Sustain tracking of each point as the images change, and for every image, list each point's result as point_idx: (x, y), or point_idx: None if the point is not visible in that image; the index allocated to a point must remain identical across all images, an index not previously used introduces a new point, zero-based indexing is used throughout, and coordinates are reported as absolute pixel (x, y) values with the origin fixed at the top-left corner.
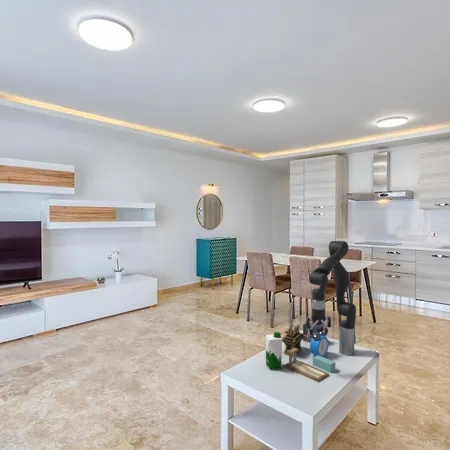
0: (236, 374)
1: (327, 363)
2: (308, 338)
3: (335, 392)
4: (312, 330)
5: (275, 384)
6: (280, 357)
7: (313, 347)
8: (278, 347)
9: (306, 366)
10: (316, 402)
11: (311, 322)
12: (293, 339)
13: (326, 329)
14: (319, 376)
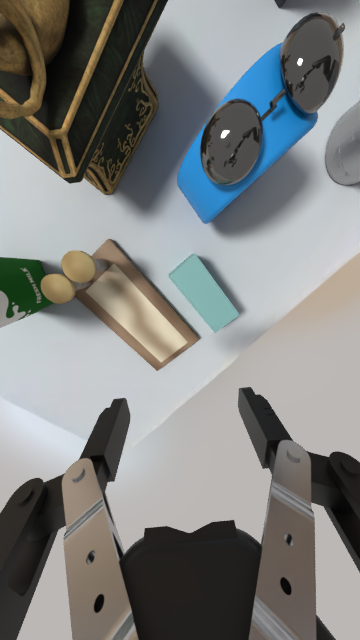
0: None
1: (207, 323)
2: None
3: (184, 402)
4: (115, 468)
5: (47, 380)
6: (22, 315)
7: (191, 200)
8: None
9: (140, 300)
10: (135, 430)
11: (67, 568)
12: (56, 147)
13: (266, 460)
14: (166, 356)
